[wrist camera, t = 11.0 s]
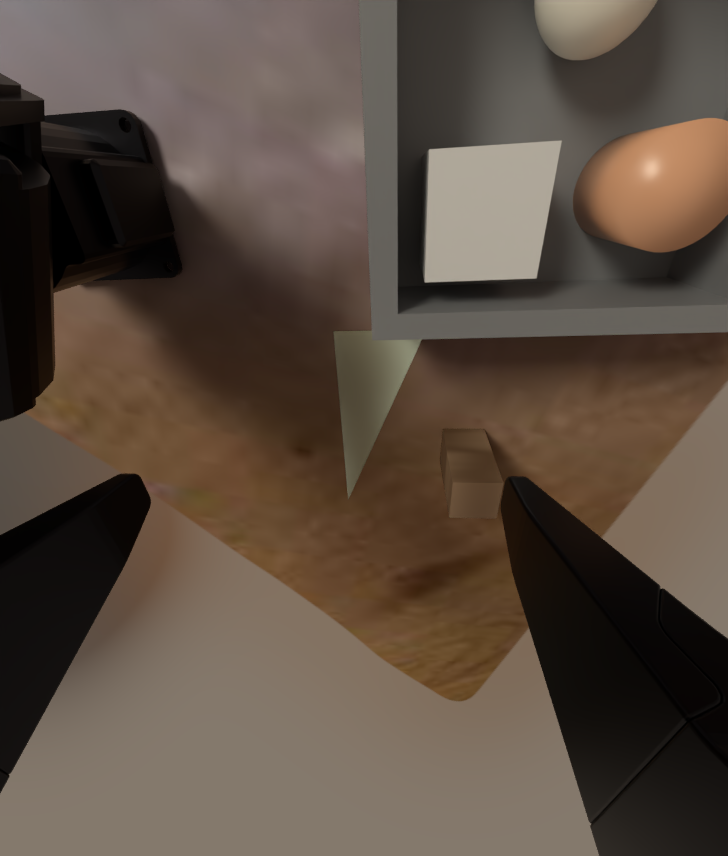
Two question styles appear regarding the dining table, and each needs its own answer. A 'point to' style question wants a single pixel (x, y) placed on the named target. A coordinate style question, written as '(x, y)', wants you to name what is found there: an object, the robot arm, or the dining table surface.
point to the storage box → (545, 167)
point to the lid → (369, 405)
